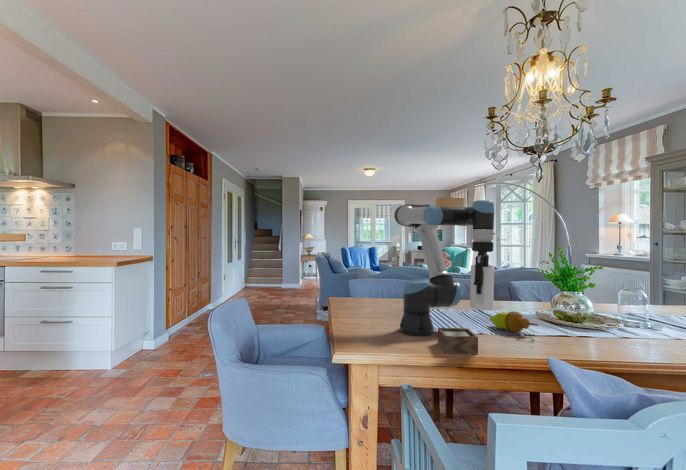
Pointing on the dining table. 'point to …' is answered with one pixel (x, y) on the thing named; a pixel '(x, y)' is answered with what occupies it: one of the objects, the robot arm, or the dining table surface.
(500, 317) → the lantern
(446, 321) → the dining table surface
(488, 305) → the cup
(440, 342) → the brown wooden square box
